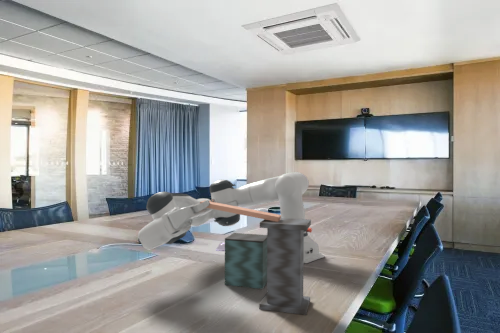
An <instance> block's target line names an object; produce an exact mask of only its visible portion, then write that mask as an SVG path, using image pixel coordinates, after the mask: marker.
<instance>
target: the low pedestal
mask: <svg viewBox="0 0 500 333" xmlns="http://www.w3.org/2000/svg"><path fill="white" fill-rule="evenodd" d="M224 243H225V251H224V286H233V287H241V286H243V287H244V288H250V287H251V288H250V289H252V288H253V289H259V288H260V289H259V290H263V289H264V288H265V287H266V286H267V234H256V233H254V234H253V233H243V232H242V233H239V232H233V233H232V234H230V235H228V236H227V237H225V238H224Z"/></svg>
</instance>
